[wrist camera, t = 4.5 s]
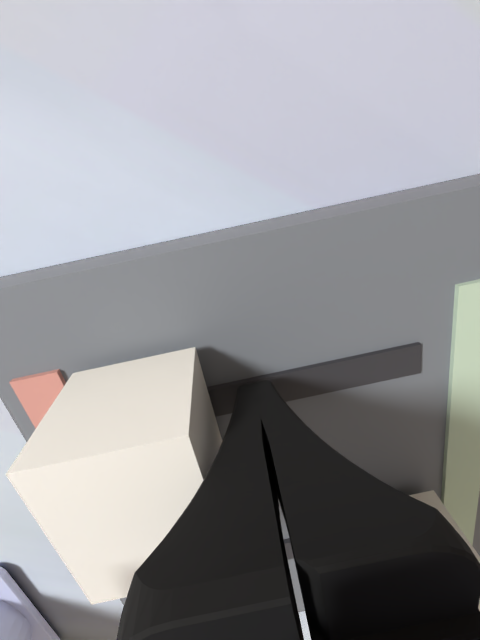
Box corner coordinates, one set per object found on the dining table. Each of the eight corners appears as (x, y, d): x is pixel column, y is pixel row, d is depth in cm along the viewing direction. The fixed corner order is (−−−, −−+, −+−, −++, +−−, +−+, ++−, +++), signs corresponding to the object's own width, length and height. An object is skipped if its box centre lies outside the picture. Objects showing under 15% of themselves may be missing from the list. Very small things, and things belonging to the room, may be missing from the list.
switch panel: (152, 601, 20) (146, 648, 18) (-17, 280, 12) (-62, 303, 10) (453, 538, 20) (480, 578, 18) (488, 172, 12) (543, 172, 10)
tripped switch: (124, 482, 13) (91, 604, 9) (72, 373, 11) (5, 474, 7) (227, 460, 13) (234, 574, 9) (195, 347, 11) (188, 435, 7)
